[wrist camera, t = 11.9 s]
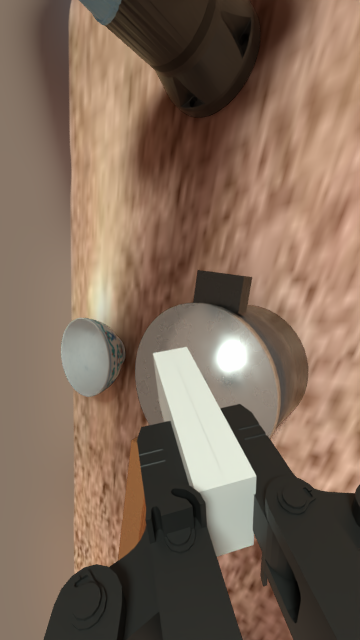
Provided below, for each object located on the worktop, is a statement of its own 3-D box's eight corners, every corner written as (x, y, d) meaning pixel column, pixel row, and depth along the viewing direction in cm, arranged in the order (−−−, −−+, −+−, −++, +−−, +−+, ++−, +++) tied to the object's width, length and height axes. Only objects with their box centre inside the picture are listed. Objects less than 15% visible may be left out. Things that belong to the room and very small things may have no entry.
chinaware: (148, 336, 56) (117, 341, 50) (128, 401, 61) (96, 412, 55) (101, 304, 64) (69, 304, 58) (86, 363, 69) (55, 369, 63)
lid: (150, 290, 39) (90, 289, 32) (298, 322, 28) (259, 332, 20) (127, 483, 44) (72, 520, 37) (246, 574, 33) (200, 654, 26)
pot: (207, 271, 48) (157, 264, 38) (327, 286, 37) (300, 283, 28) (181, 451, 53) (132, 484, 44) (280, 508, 43) (244, 569, 33)
